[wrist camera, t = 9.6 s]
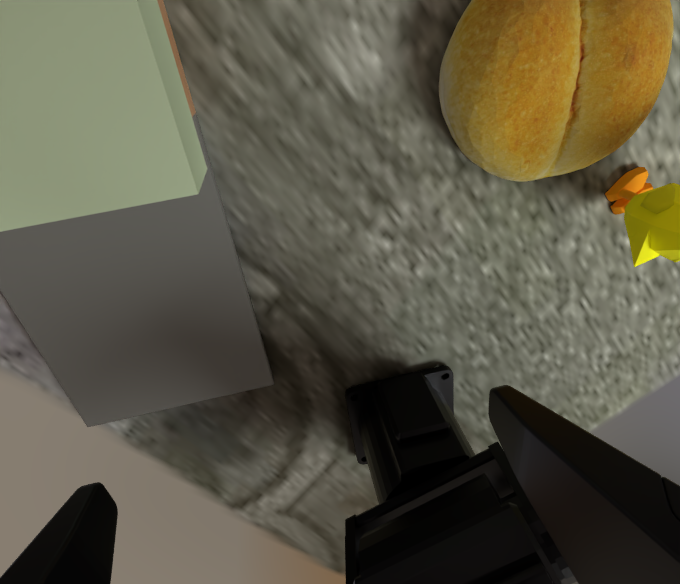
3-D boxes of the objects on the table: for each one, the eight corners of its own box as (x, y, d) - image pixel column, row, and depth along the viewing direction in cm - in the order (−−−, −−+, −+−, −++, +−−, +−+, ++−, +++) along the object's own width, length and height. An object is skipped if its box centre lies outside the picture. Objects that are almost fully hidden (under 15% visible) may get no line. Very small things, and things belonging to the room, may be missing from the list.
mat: (273, 378, 24) (274, 384, 24) (90, 420, 23) (87, 427, 23) (195, 112, 17) (194, 114, 16) (-73, 159, 16) (-82, 162, 16)
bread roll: (434, -32, 16) (483, -53, 13) (649, -47, 17) (748, -70, 14) (427, 185, 20) (463, 213, 17) (601, 162, 21) (667, 185, 18)
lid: (207, 168, 15) (198, 194, 13) (15, 204, 15) (-35, 238, 12) (79, -260, 10) (20, -364, 7) (-224, -230, 9) (-400, -331, 7)
